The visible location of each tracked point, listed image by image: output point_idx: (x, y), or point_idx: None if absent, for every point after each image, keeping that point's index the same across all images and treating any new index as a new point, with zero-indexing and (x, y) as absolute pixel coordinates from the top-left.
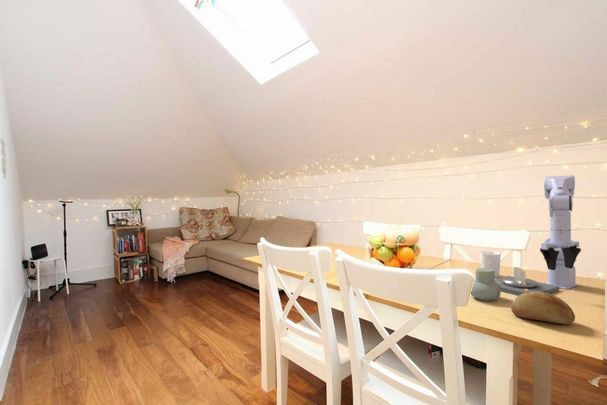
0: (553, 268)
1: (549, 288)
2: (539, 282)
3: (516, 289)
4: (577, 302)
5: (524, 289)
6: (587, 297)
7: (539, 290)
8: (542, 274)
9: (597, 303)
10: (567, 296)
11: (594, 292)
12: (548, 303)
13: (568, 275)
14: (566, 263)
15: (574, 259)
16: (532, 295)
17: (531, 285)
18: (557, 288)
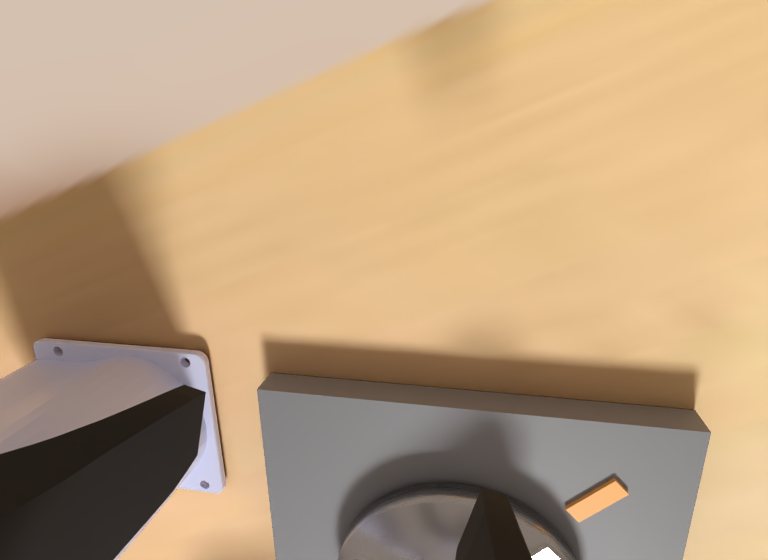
0: (512, 517)
1: (382, 412)
2: (273, 508)
3: (636, 553)
4: (488, 167)
5: (581, 516)
6: (274, 182)
7: (513, 439)
8: None
9: (380, 62)
10: (377, 280)
11: (101, 208)
12: None
13: (81, 410)
14: (162, 481)
15: (78, 444)
16: None
17: None
18: (287, 385)
